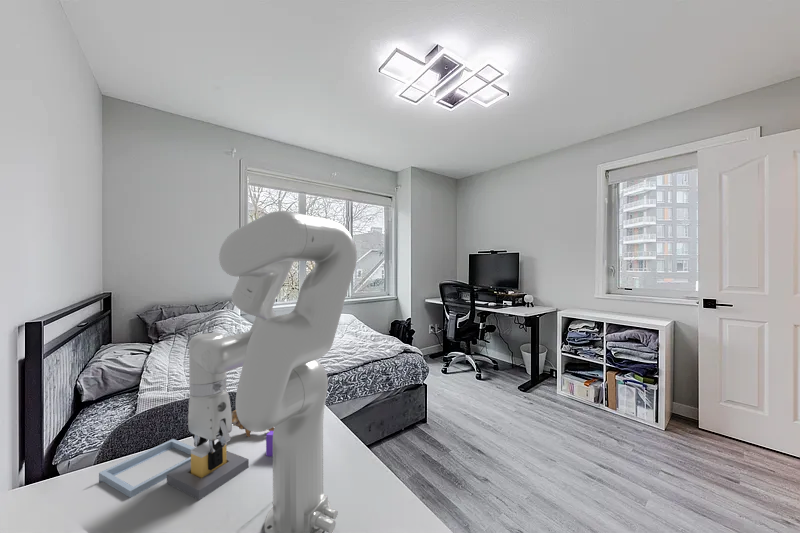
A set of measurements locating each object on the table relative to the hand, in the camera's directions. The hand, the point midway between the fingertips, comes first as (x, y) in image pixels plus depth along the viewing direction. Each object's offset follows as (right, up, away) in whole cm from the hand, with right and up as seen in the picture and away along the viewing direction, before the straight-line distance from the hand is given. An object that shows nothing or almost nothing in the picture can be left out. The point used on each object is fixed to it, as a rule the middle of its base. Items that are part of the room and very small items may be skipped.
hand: (209, 463), depth 75 cm
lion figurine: (+3, -4, +18) cm, 19 cm away
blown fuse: (0, -3, 0) cm, 3 cm away
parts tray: (-15, -4, +3) cm, 16 cm away
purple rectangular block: (+14, -4, +13) cm, 20 cm away
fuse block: (0, -4, 0) cm, 4 cm away
